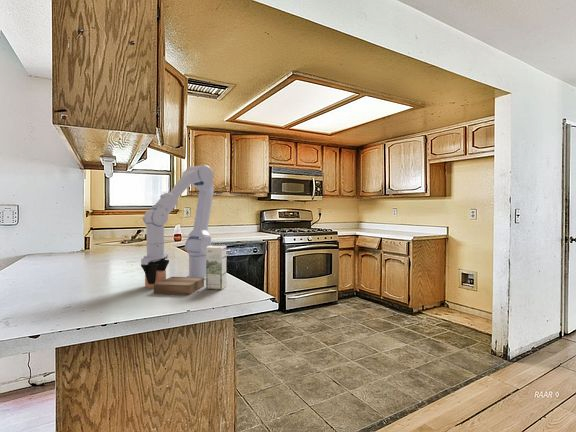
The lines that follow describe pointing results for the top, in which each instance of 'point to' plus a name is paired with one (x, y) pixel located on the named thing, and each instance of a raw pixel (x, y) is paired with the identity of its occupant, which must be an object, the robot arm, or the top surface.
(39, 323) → the top surface
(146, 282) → the cube
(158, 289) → the walnut base
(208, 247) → the syrup box
